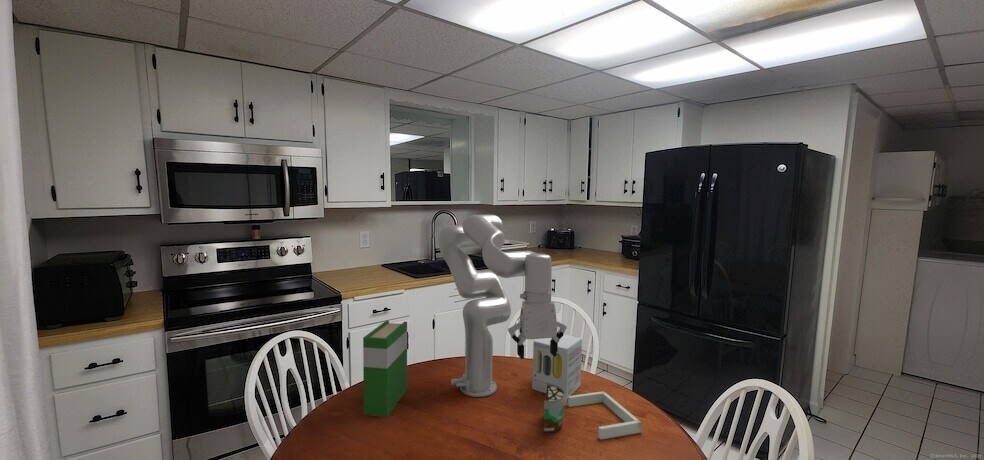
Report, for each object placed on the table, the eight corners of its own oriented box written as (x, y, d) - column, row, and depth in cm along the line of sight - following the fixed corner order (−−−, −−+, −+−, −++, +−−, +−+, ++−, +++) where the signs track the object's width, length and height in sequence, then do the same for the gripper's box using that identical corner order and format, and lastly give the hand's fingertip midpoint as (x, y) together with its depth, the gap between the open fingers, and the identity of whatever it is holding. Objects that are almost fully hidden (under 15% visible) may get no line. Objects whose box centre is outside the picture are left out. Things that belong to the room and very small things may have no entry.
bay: (600, 439, 110) (600, 429, 109) (567, 405, 128) (567, 396, 128) (641, 432, 113) (641, 422, 113) (603, 400, 132) (603, 391, 132)
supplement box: (531, 389, 139) (532, 340, 138) (547, 376, 150) (548, 330, 149) (566, 400, 131) (568, 348, 130) (581, 385, 142) (582, 337, 141)
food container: (565, 439, 110) (566, 404, 109) (543, 436, 111) (544, 401, 110) (566, 415, 122) (567, 384, 121) (546, 413, 123) (547, 382, 122)
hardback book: (386, 388, 138) (386, 320, 136) (407, 389, 137) (407, 321, 135) (363, 414, 121) (363, 337, 119) (387, 417, 120) (386, 339, 118)
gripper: (512, 301, 108) (511, 363, 109) (571, 298, 112) (570, 358, 112) (505, 295, 115) (504, 353, 116) (561, 293, 119) (560, 349, 120)
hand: (537, 356), depth 114 cm, fingers open, 9 cm apart
